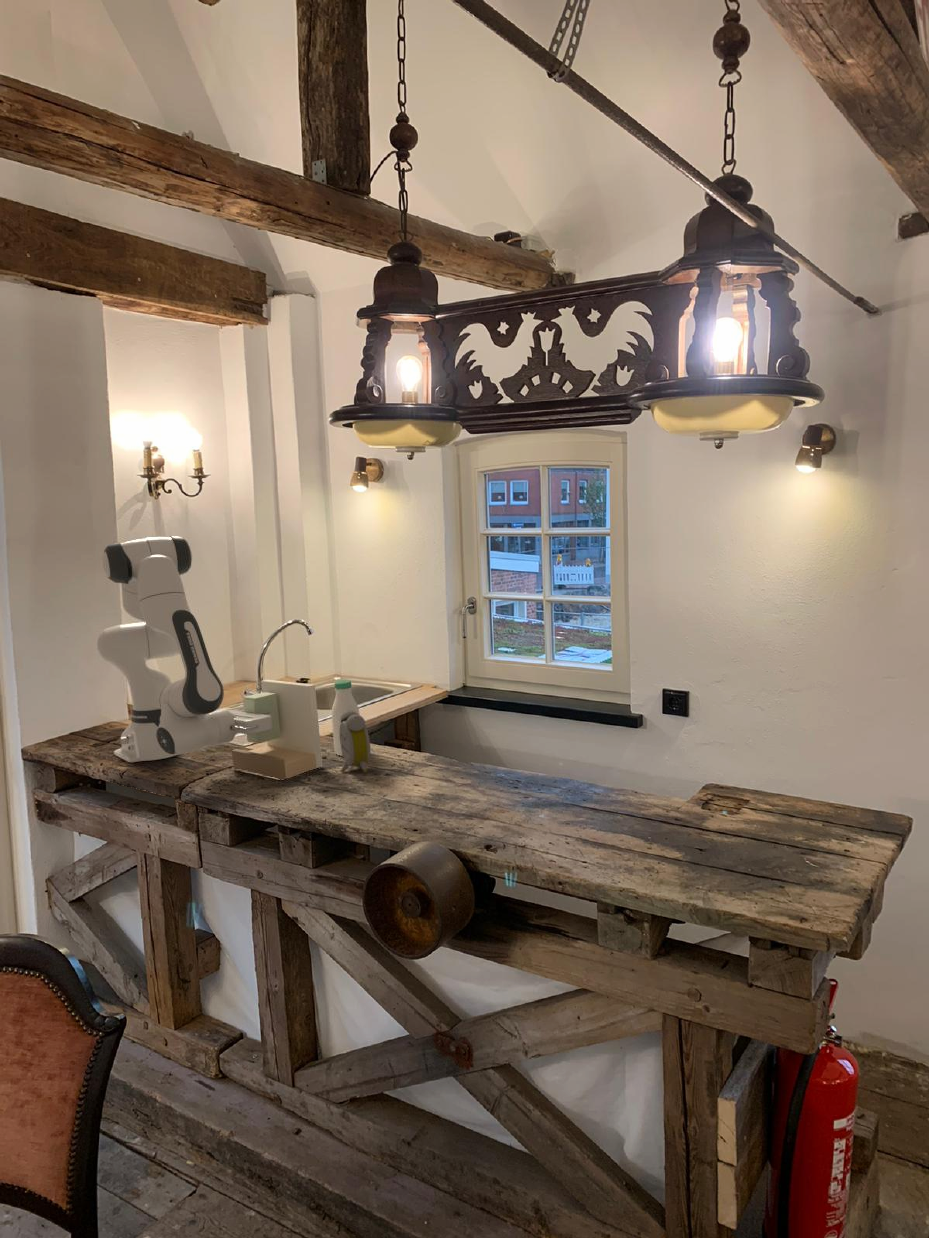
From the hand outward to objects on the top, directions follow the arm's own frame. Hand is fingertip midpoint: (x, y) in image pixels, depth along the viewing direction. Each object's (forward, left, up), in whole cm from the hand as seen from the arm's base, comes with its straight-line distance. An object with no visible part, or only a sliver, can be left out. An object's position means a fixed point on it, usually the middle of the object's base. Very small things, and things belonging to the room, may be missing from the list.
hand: (264, 714), depth 231 cm
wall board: (+5, -1, -14) cm, 15 cm away
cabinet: (0, -1, -6) cm, 7 cm away
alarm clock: (+25, +8, -14) cm, 30 cm away
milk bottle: (+11, +19, -14) cm, 26 cm away
